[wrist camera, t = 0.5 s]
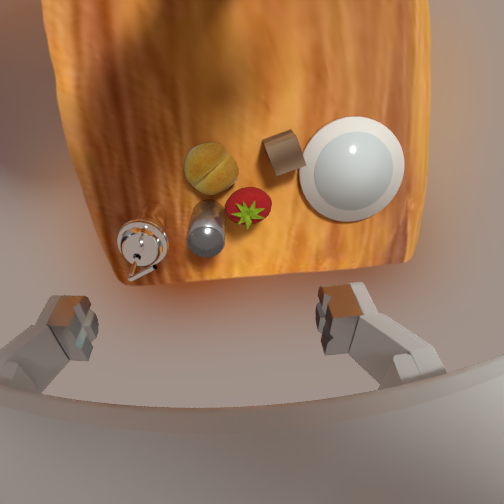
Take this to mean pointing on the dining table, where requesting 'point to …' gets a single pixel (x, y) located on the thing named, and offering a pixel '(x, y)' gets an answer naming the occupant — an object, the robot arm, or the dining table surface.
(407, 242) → the dining table surface
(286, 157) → the walnut block
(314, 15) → the dining table surface
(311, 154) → the plate
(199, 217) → the drinking glass
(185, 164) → the bread roll
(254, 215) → the strawberry
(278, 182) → the dining table surface
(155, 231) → the cup with straw
